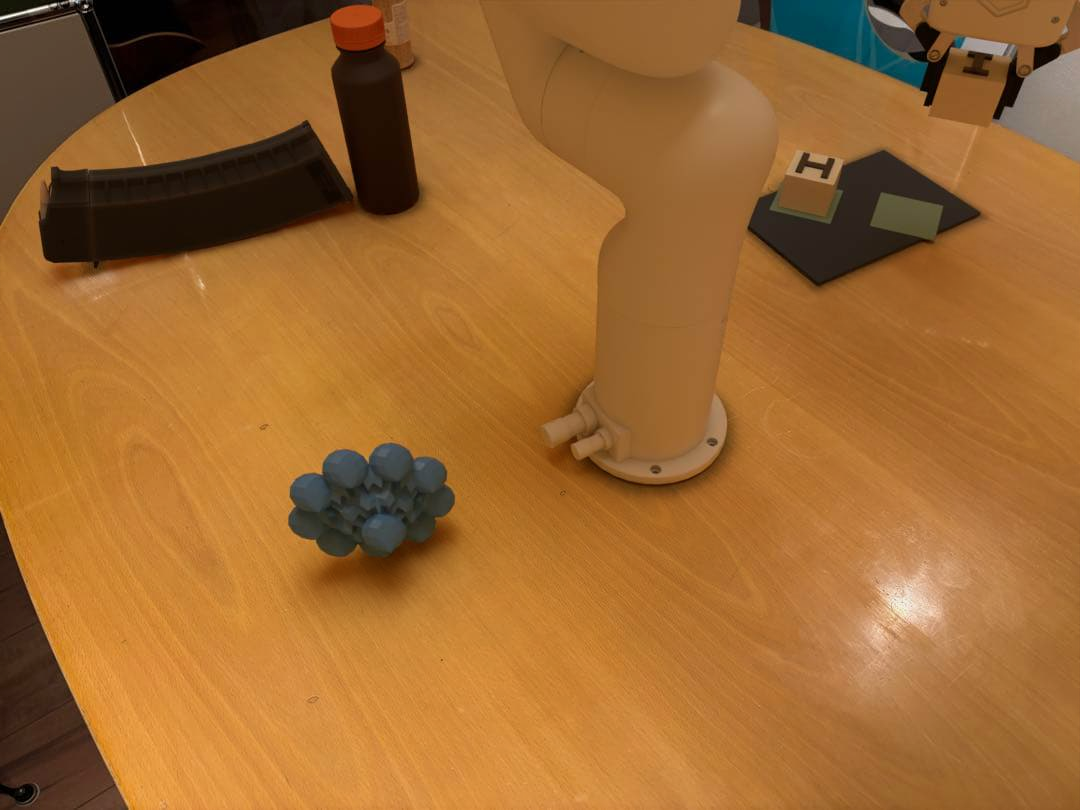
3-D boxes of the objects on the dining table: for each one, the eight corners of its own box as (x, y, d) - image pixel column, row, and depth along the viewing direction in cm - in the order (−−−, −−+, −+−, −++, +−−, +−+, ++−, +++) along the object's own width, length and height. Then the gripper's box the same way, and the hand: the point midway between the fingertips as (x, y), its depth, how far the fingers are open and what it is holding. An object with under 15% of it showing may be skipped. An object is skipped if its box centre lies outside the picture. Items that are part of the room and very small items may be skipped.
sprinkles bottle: (373, 64, 116) (355, -42, 106) (399, 51, 119) (383, -53, 109) (396, 74, 114) (380, -32, 104) (422, 61, 117) (408, -44, 106)
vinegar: (346, 195, 96) (306, 14, 81) (398, 172, 99) (368, -7, 84) (379, 223, 93) (342, 39, 78) (431, 199, 95) (406, 17, 81)
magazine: (357, 117, 90) (22, 95, 77) (364, 132, 88) (21, 113, 75) (340, 255, 101) (45, 256, 88) (347, 271, 99) (45, 275, 86)
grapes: (322, 625, 61) (280, 530, 52) (302, 549, 66) (260, 449, 57) (478, 569, 64) (463, 469, 55) (449, 500, 68) (431, 397, 59)
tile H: (825, 217, 91) (834, 182, 88) (778, 206, 92) (785, 171, 89) (835, 191, 94) (845, 156, 91) (789, 181, 95) (797, 146, 92)
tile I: (988, 127, 75) (1007, 80, 72) (927, 116, 76) (943, 69, 73) (994, 100, 78) (1012, 53, 75) (936, 89, 79) (951, 43, 76)
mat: (824, 291, 84) (825, 288, 83) (720, 205, 93) (720, 201, 93) (987, 220, 91) (988, 216, 90) (874, 146, 100) (875, 143, 100)
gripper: (916, -122, 64) (856, 107, 77) (1178, -92, 59) (1064, 147, 72) (932, -153, 68) (872, 68, 82) (1177, -128, 63) (1069, 104, 77)
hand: (963, 103), depth 77 cm, fingers closed on tile I, 5 cm apart
